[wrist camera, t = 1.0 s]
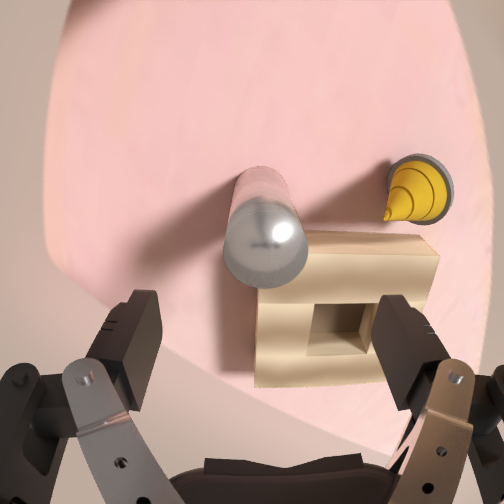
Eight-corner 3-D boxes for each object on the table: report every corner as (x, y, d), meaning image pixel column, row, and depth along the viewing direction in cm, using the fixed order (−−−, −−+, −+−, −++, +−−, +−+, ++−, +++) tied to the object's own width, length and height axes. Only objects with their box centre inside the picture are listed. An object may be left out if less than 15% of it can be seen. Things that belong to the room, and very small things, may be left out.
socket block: (259, 229, 26) (260, 252, 22) (419, 235, 26) (440, 256, 22) (254, 357, 32) (254, 387, 28) (383, 353, 32) (394, 380, 28)
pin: (234, 165, 23) (222, 211, 14) (288, 167, 23) (312, 214, 14) (233, 216, 25) (223, 288, 16) (285, 217, 25) (303, 289, 16)
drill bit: (423, 219, 26) (374, 271, 20) (393, 166, 26) (332, 199, 20) (472, 194, 21) (441, 243, 16) (439, 136, 21) (393, 158, 16)
